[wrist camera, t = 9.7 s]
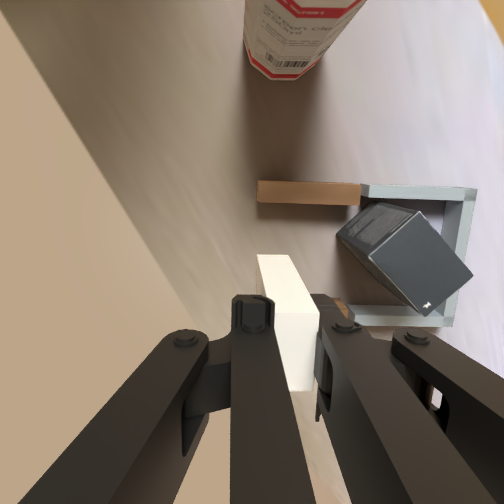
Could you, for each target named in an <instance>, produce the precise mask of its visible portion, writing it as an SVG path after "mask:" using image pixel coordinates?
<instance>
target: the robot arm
mask: <svg viewBox="0 0 504 504" xmlns="http://www.w3.org/2000/svg"><path fill="white" fill-rule="evenodd" d="M315 377H316V380H317V383H318V391H317V403H316V415H315V420H316V422H319V417H320V415H321V414H322V416H323V419H324V422H325V425H326V428H327V431H328V434H329V437H330V440H331V443H332V446H333V449H334V452H335V455H336V458H337V461H338V464H339V467H340V470H341V473H342V476H343V479H344V482H345V485H346V488H347V491H348V494H349V497H350V500H351V503H352V504H504V379H503V378H502V377H500V376H499V375H497V374H495V373H494V372H492V371H491V370H489V369H487V368H486V367H484V366H483V365H481V364H479V363H478V362H476V361H475V360H473V359H471V358H470V357H468V356H467V355H465V354H463V353H462V352H460V351H459V350H457V349H455V348H454V347H452V346H451V345H449V344H447V343H446V342H444V341H443V340H441V339H439V338H438V337H436V336H435V335H433V334H430V333H428V332H426V331H422V330H421V329H418V328H415V329H414V328H401V329H398V330H396V331H395V332H394V333H393V338H392V341H387V340H381V339H375V338H372V337H371V335H370V334H369V333H368V331H367V330H366V329H365V327H363V326H362V325H361V324H359V323H358V322H355V321H352V320H348V319H346V317H345V316H344V314H343V313H342V312H341V310H340V309H339V307H338V306H337V304H336V303H335V301H334V300H333V299H332V298H330V297H329V296H327V295H325V294H309V292H308V290H307V289H306V287H305V285H304V283H303V281H302V279H301V278H300V276H299V274H298V272H297V270H296V268H295V267H294V265H293V263H292V261H291V259H290V257H289V255H257V269H256V295H236V296H235V297H234V298H233V299H232V318H231V332H230V333H229V334H228V335H227V336H225V337H223V338H221V339H218V340H214V341H209V338H208V337H207V335H206V334H204V333H203V332H201V331H196V330H188V329H183V330H178V331H175V332H172V333H170V334H168V335H167V336H165V337H164V338H163V339H162V340H161V342H160V343H159V344H158V345H157V346H156V347H155V348H154V349H153V351H152V352H151V353H150V354H149V355H148V356H147V358H146V359H145V360H144V361H143V362H142V363H141V364H140V365H139V367H138V368H137V369H136V370H135V371H134V372H133V373H132V375H131V376H130V377H129V378H128V379H127V380H126V381H125V382H124V384H123V385H122V386H121V387H120V388H119V389H118V390H117V391H116V393H115V394H114V395H113V396H112V397H111V398H110V400H109V401H108V402H107V403H106V404H105V405H104V406H103V407H102V409H101V410H100V411H99V412H98V413H97V414H96V415H95V417H94V418H93V419H92V420H91V421H90V422H89V423H88V424H87V426H86V427H85V428H84V429H83V430H82V431H81V432H80V434H79V435H78V436H77V437H76V438H75V439H74V440H73V442H72V443H71V444H70V445H69V446H68V447H67V448H66V450H65V451H64V452H63V453H62V454H61V455H60V456H59V457H58V459H57V460H56V461H55V462H54V463H53V464H52V465H51V466H50V468H49V469H48V470H47V471H46V472H45V473H44V474H43V476H42V477H41V478H40V479H39V480H38V481H37V482H36V484H35V485H34V486H33V487H32V488H31V489H30V490H29V492H28V493H27V494H26V495H25V496H24V497H23V499H21V501H20V502H19V503H18V504H173V502H174V500H175V497H176V495H177V493H178V490H179V488H180V485H181V483H182V481H183V479H184V476H185V474H186V472H187V470H188V467H189V465H190V462H191V460H192V458H193V456H194V453H195V451H196V449H197V447H198V444H199V442H200V439H201V437H202V435H203V433H204V430H205V428H206V426H207V423H208V420H209V413H210V412H214V411H218V410H222V409H226V408H230V407H231V424H230V427H231V428H230V432H231V433H230V504H316V501H315V496H314V492H313V488H312V484H311V480H310V475H309V472H308V467H307V463H306V459H305V455H304V450H303V446H302V442H301V438H300V434H299V430H298V425H297V421H296V417H295V413H294V409H293V405H292V400H291V396H290V392H289V391H314V379H315ZM434 387H435V388H436V389H437V390H439V391H440V392H441V393H442V394H443V395H442V400H441V406H440V408H437V407H435V406H434V405H433V404H432V403H431V401H432V395H433V390H434Z"/></svg>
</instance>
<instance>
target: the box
mask: <svg viewBox="0 0 504 504" xmlns="http://www.w3.org/2000/svg"><path fill="white" fill-rule="evenodd" d="M336 236H337V237H338V238H339V239H340V240H341V241H342V242H343V244H344V245H345V246H346V247H347V248H348V249H349V250H350V251H351V252H352V254H353V255H354V256H355V257H356V258H357V259H358V260H359V261H360V262H361V264H362V265H363V266H364V267H365V268H366V269H367V270H368V271H369V272H370V273H371V274H372V275H373V277H374V278H375V279H376V280H377V281H378V282H379V283H381V284H382V285H383V286H384V287H386V288H387V289H388V290H389V291H391V292H392V293H393V294H395V295H396V296H397V297H398V298H400V299H401V300H402V301H403V302H405V303H406V304H407V305H408V306H410V307H411V308H412V309H414V310H415V311H416V312H417V313H419V314H420V315H422V316H423V317H427V316H428V315H429V314H430V313H431V312H432V311H433V310H434V309H436V308H437V307H438V306H439V305H440V304H442V303H443V302H444V301H445V300H446V299H448V298H449V297H450V296H451V295H452V294H454V293H455V292H456V291H457V290H458V289H460V288H461V287H462V286H463V285H464V284H465V283H466V282H468V281H469V280H470V279H471V278H472V277H473V274H472V273H471V271H470V270H469V269H468V268H467V267H466V266H465V264H464V263H463V262H462V261H461V260H460V258H459V257H458V256H457V255H456V254H455V252H454V251H453V250H452V249H451V248H450V247H449V245H448V244H447V243H446V242H445V241H444V239H443V238H442V237H441V236H440V235H439V233H438V232H437V231H436V230H435V229H434V228H433V226H432V225H431V224H430V223H429V222H428V220H427V219H426V218H425V217H424V215H423V214H422V213H421V212H420V211H416V210H412V209H407V208H403V207H399V206H395V205H391V204H387V203H383V202H379V201H375V200H373V201H372V202H370V203H369V204H368V205H367V206H366V207H365V208H364V209H363V210H362V211H361V212H359V213H358V214H357V215H356V216H355V217H354V218H353V219H352V220H350V221H349V222H348V223H347V224H346V225H345V226H344V227H343V228H342V229H340V230H339V231H338V232H337V233H336Z"/></svg>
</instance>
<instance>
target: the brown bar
mask: <svg viewBox="0 0 504 504" xmlns="http://www.w3.org/2000/svg"><path fill="white" fill-rule="evenodd" d="M361 187H362V185H358V184H352V183H332V182H305V181H278V180H257V195H256V199H257V201H258V202H268V203H297V204H327V205H356V206H359V205H360V196H361ZM332 299H333V300H334V301H335V303H336V304H337V306H338V307H339V309H340V310H341V312H342V313H343V314H344V316H345V317H346V319H347V317H348V309H347V308H346V306H345V305H344V304H343V302H342V301H341V300H340V298H332Z"/></svg>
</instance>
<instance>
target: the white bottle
mask: <svg viewBox="0 0 504 504" xmlns="http://www.w3.org/2000/svg"><path fill="white" fill-rule="evenodd" d="M366 1H367V0H245V12H244V30H243V40H244V43H245V46H246V50H247V53H248V57H249V60H250V63H251V65H252V66H253V67H255V68H256V69H257V70H258V71H260V72H261V73H262V74H263V75H265V76H266V77H267V78H268V79H270V80H296V79H297V78H299V77H300V76H301V75H303V74H304V73H305V72H307V71H308V70H309V69H310V68H312V67H313V66H314V65H315V64H316V63H317V62H318V61H319V59H320V58H321V57H322V56H323V54H324V53H325V52H326V51H327V49H328V48H329V47H330V46H331V44H332V43H333V42H334V41H335V40H336V38H337V37H338V36H339V35H340V33H341V32H342V31H343V30H344V28H345V27H346V26H347V25H348V23H349V22H350V21H351V20H352V18H353V17H354V16H355V15H356V13H357V12H358V11H359V10H360V8H361V7H362V6H363V5H364V3H365V2H366Z"/></svg>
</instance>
